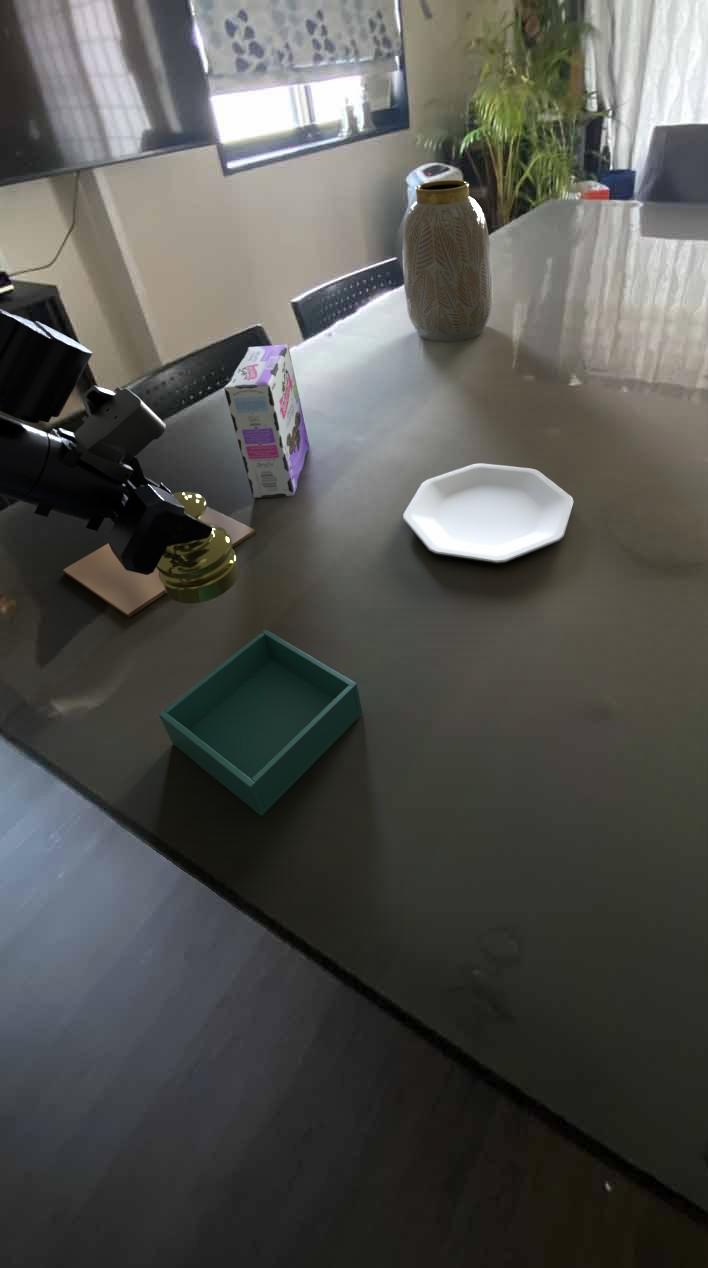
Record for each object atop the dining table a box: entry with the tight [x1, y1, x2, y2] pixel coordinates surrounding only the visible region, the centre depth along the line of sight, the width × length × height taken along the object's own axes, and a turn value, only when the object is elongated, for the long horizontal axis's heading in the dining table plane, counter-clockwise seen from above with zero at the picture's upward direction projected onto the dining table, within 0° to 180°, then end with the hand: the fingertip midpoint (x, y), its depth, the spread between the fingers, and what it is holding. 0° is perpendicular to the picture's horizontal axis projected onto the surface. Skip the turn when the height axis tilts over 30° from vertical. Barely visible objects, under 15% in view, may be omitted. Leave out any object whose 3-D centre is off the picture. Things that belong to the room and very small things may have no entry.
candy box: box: [224, 343, 310, 499], centre depth 93 cm, size 14×6×16 cm, turn 179°
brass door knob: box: [156, 491, 240, 605], centre depth 65 cm, size 7×7×10 cm
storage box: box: [158, 629, 364, 817], centre depth 60 cm, size 12×12×4 cm
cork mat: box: [62, 506, 256, 618], centre depth 83 cm, size 18×14×1 cm
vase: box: [402, 179, 494, 342], centre depth 130 cm, size 17×17×27 cm
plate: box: [402, 462, 574, 565], centre depth 84 cm, size 20×20×2 cm
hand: (199, 521), depth 65 cm, fingers closed on brass door knob, 5 cm apart
